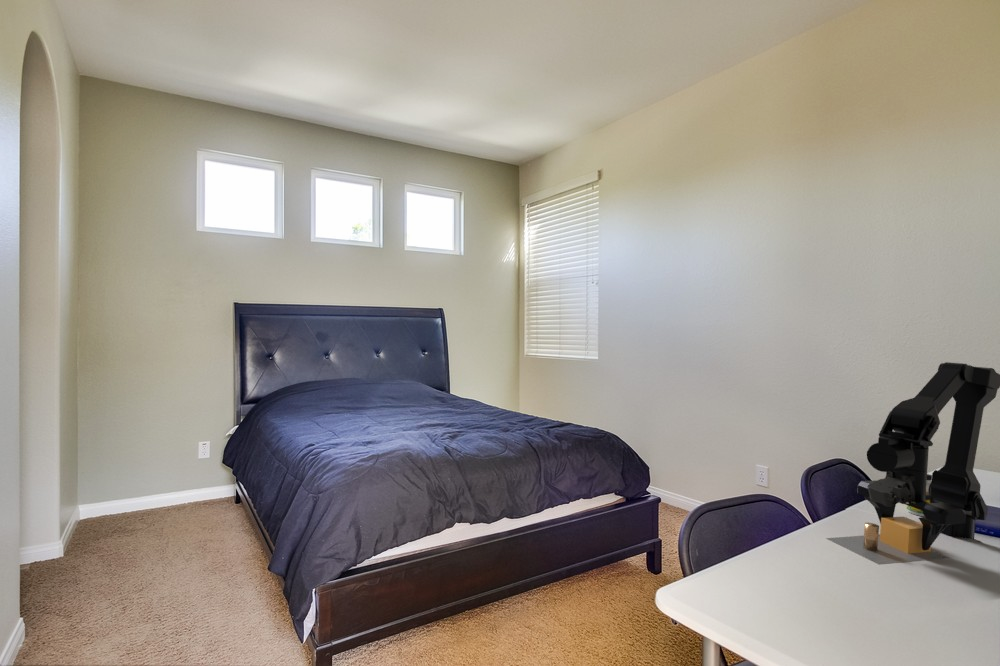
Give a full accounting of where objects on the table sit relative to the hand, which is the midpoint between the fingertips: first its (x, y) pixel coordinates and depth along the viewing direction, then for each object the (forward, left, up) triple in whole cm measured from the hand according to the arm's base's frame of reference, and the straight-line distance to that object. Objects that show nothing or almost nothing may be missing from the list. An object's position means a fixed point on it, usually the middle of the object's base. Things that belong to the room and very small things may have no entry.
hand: (904, 541), depth 110 cm
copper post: (+9, 0, -1) cm, 9 cm away
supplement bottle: (-29, -19, -3) cm, 35 cm away
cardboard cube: (0, 0, -1) cm, 1 cm away
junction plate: (+5, 0, -2) cm, 6 cm away
